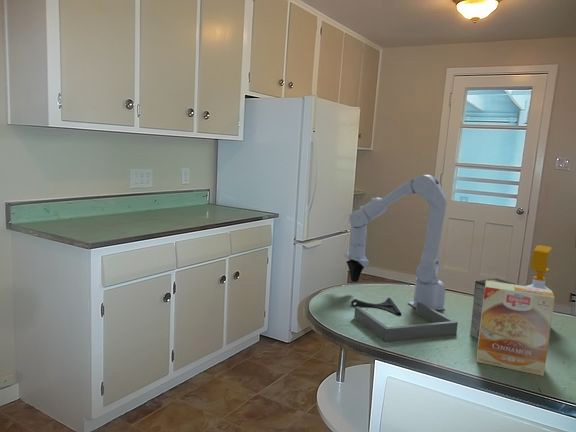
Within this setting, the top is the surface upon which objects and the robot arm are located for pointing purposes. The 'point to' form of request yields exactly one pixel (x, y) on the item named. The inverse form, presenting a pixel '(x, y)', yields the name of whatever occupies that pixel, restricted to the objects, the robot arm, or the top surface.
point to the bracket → (379, 305)
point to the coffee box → (479, 305)
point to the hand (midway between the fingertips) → (354, 281)
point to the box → (437, 328)
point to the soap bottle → (540, 266)
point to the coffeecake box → (515, 327)
